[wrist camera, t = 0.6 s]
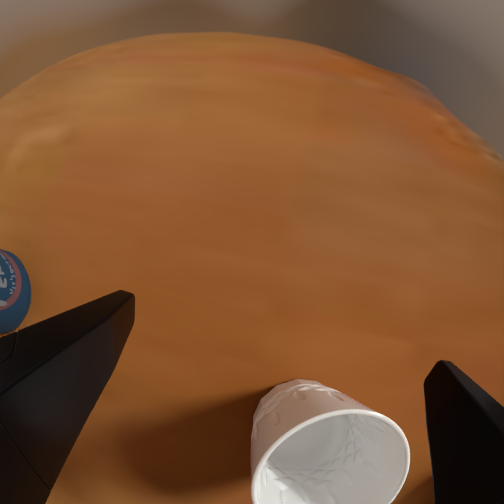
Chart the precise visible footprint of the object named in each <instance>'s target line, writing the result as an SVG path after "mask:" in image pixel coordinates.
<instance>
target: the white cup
mask: <svg viewBox="0 0 504 504" xmlns="http://www.w3.org/2000/svg"><path fill="white" fill-rule="evenodd" d="M250 457H251V497H252V502H253V504H391V502H392V501H393V500H394V499H395V497H396V496H397V495H398V493H399V491H400V490H401V488H402V486H403V484H404V482H405V479H406V477H407V474H408V470H409V465H410V450H409V445H408V441H407V439H406V437H405V435H404V433H403V431H402V430H401V429H400V427H399V426H398V425H397V424H396V423H395V422H393V421H392V420H391V419H389V418H388V417H386V416H384V415H382V414H380V413H378V412H376V411H374V410H372V409H370V408H369V407H367V406H365V405H363V404H361V403H360V402H358V401H356V400H354V399H352V398H350V397H349V396H347V395H345V394H343V393H341V392H339V391H337V390H335V389H332V388H329V387H326V386H324V385H322V384H321V383H319V382H318V381H311V380H301V379H295V380H292V381H289V382H286V383H283V384H279V385H276V386H275V387H274V388H273V389H272V390H271V391H270V392H268V393H267V394H266V395H265V396H264V397H263V398H261V400H260V402H259V404H258V406H257V409H256V411H255V413H254V415H253V429H252V435H251V454H250Z"/></svg>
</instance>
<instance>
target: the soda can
mask: <svg viewBox="0 0 504 504" xmlns="http://www.w3.org/2000/svg"><path fill="white" fill-rule="evenodd" d="M31 296H32V290H31V283H30V279H29V276H28V274H27V272H26V269H25V267H24V266H23V264H22V262H21V261H20V260H19V259H18V258H17V257H16V256H15V255H14V254H12V253H11V252H8V251H5V250H2V249H0V333H8V332H11V331H13V330H14V329H15V328H17V327H18V326H19V325H20V323H21V322H22V321H23V319H24V318H25V316H26V314H27V312H28V310H29V307H30V303H31Z"/></svg>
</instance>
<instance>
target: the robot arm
mask: <svg viewBox="0 0 504 504" xmlns="http://www.w3.org/2000/svg"><path fill="white" fill-rule="evenodd" d="M134 319H135V296H134V294H133V293H130V292H127V291H123V290H119V291H116V292H113V293H111V294H108V295H106V296H103V297H101V298H98V299H96V300H93V301H91V302H88V303H86V304H83V305H81V306H78V307H76V308H73V309H71V310H68V311H66V312H63V313H61V314H58V315H56V316H53V317H51V318H48V319H46V320H43V321H41V322H38V323H36V324H33V325H31V326H28V327H26V328H23V329H21V330H19V331H18V332H13V333H11V334H9V335H6V336H4V337H1V338H0V504H45V503H46V501H47V499H48V497H49V495H50V492H51V491H50V490H52V488H53V486H54V484H55V482H56V479H57V477H58V475H59V473H60V471H61V469H62V467H63V465H64V463H65V461H66V459H67V457H68V455H69V453H70V451H71V449H72V447H73V445H74V443H75V441H76V439H77V437H78V436H79V434H80V432H81V430H82V428H83V426H84V424H85V422H86V420H87V418H88V417H89V415H90V413H91V411H92V409H93V407H94V406H95V404H96V402H97V400H98V398H99V396H100V395H101V393H102V391H103V389H104V387H105V386H106V384H107V382H108V380H109V378H110V377H111V375H112V373H113V371H114V369H115V367H116V364H117V362H118V360H119V357H120V355H121V353H122V350H123V348H124V345H125V343H126V341H127V338H128V336H129V334H130V332H131V329H132V327H133V324H134ZM424 396H425V409H426V425H427V434H428V441H429V449H430V457H431V466H432V477H433V489H434V504H504V407H503V406H502V405H500V404H499V403H498V402H497V401H496V400H495V399H494V398H493V397H491V396H490V395H489V394H488V393H487V392H486V391H485V390H483V389H482V388H481V387H480V386H479V385H478V384H476V383H475V382H474V381H473V380H472V379H471V378H469V377H468V376H467V375H466V374H465V373H464V372H462V371H461V370H460V369H459V368H458V367H457V366H455V365H454V364H453V363H452V362H450V361H445V360H440V361H438V362H437V363H436V364H435V366H434V367H433V369H432V370H431V371H430V373H429V374H428V376H427V377H426V379H425V381H424Z"/></svg>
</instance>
